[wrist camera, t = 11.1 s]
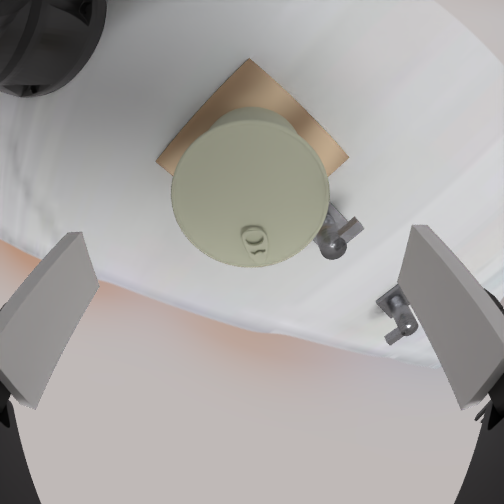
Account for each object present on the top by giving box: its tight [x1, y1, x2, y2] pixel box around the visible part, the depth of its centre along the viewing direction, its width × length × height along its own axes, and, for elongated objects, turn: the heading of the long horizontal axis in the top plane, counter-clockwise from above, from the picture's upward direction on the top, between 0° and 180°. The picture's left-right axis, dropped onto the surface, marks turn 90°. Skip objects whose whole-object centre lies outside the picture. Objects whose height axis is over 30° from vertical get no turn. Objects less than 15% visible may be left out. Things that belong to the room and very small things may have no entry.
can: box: [171, 107, 330, 267], centre depth 22 cm, size 9×9×12 cm
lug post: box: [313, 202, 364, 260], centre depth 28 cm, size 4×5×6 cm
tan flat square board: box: [156, 58, 349, 177], centre depth 27 cm, size 13×13×1 cm
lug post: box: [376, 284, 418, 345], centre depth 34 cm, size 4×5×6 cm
